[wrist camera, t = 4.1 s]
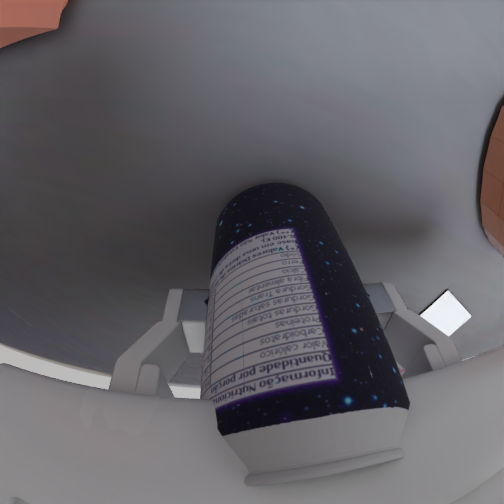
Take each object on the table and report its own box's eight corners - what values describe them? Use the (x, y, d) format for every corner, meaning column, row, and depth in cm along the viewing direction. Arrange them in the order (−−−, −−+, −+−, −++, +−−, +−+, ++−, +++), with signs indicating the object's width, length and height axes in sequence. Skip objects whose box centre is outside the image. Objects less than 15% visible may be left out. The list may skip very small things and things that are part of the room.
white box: (447, 289, 18) (452, 296, 18) (471, 316, 21) (475, 321, 21) (379, 347, 22) (381, 354, 21) (415, 361, 25) (418, 367, 24)
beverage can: (226, 274, 16) (224, 496, 7) (206, 184, 13) (156, 477, 3) (323, 262, 16) (385, 472, 6) (324, 170, 13) (468, 423, 3)
